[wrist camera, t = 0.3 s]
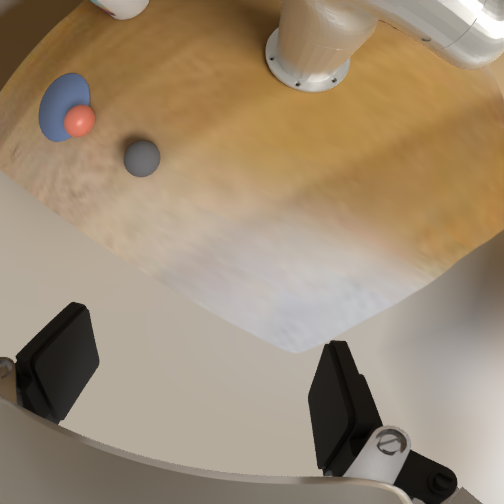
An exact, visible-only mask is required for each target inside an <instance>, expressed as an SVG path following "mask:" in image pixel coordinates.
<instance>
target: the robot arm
mask: <svg viewBox="0 0 504 504" xmlns="http://www.w3.org/2000/svg"><path fill="white" fill-rule="evenodd" d="M379 20H382V21H384V22H386V23H388V24H390V25H391V26H393V27H395V28H396V29H398V30H400V31H401V32H403V33H405V34H406V35H408V36H410V37H411V38H413V39H414V40H416V41H417V42H419V43H420V44H422V45H423V46H425V47H426V48H428V49H429V50H431V51H432V52H434V53H435V54H437V55H438V56H439V57H441V58H442V59H444V60H445V61H447V62H448V63H450V64H452V65H454V66H456V67H459V68H462V69H467V70H475V69H479V68H483V67H485V66H487V65H489V64H490V63H492V62H493V61H495V60H496V59H497V58H498V57H499V56H500V55H501V54H502V53H503V52H504V0H282V6H281V15H280V23H279V27H278V28H277V29H275V30H274V32H273V33H272V34H271V35H270V37H269V39H268V41H267V44H266V51H265V53H266V61H267V64H268V66H269V68H270V70H271V72H272V73H273V74H274V76H275V77H276V78H277V79H278V80H279V81H281V82H282V83H283V84H285V85H286V86H288V87H290V88H292V89H295V90H297V91H302V92H308V93H317V92H323V91H327V90H329V89H331V88H333V87H335V86H336V85H338V84H339V83H340V82H341V81H342V80H343V79H344V78H345V76H346V74H347V73H348V70H349V67H350V56H351V55H352V54H353V53H354V52H355V51H356V50H357V49H358V48H359V47H360V46H361V45H362V44H363V43H364V42H365V41H366V40H367V39H368V38H369V37H370V36H371V35H372V34H373V32H374V31H375V29H376V27H377V24H378V21H379ZM271 58H272V59H273V60H270V59H271ZM332 80H334V83H333V82H332ZM295 84H298V85H299V86H296V85H295ZM16 359H17V362H16V363H14V362H13V360H12V359H10V358H7V357H0V504H482V503H481V502H480V501H479V500H477V499H476V498H475V497H474V496H473V495H471V494H470V493H469V492H468V491H467V490H465V489H464V488H463V487H462V488H460V489H459V488H458V487H457V478H456V475H455V474H454V473H453V471H452V470H450V469H449V468H447V467H445V466H443V465H441V464H439V463H436V462H434V461H432V460H430V459H428V458H426V457H424V456H422V455H420V454H418V453H416V452H414V451H412V450H410V448H411V441H410V438H409V436H408V434H406V432H405V431H403V430H402V429H400V428H398V427H395V426H388V425H387V426H383V424H382V421H381V419H380V416H379V413H378V410H377V408H376V405H375V402H374V400H373V397H372V395H371V392H370V389H369V387H368V384H367V382H366V379H365V377H364V375H362V374H359V372H358V370H357V367H356V365H355V362H354V359H353V357H352V355H351V352H350V349H349V347H348V344H347V342H346V341H335V340H332V341H330V343H329V344H325V346H324V349H323V352H322V355H321V358H320V361H319V364H318V367H317V370H316V373H315V376H314V379H313V382H312V385H311V388H310V391H309V394H308V403H309V408H310V415H311V422H312V430H313V437H314V443H315V451H316V458H317V466H318V469H322V470H323V476H333V477H283V476H261V475H260V476H259V475H247V474H236V473H227V472H219V471H212V470H205V469H199V468H193V467H188V466H183V465H178V464H173V463H169V462H164V461H160V460H156V459H152V458H148V457H144V456H141V455H137V454H134V453H130V452H127V451H124V450H121V449H117V448H114V447H112V446H109V445H106V444H103V443H100V442H98V441H95V440H92V439H90V438H87V437H85V436H82V435H80V434H77V433H75V432H72V431H70V430H68V429H66V428H63V427H61V426H59V425H58V424H59V422H60V420H64V419H65V417H66V416H67V414H68V412H69V411H70V409H71V407H72V406H73V404H74V403H75V401H76V399H77V398H78V397H79V395H80V393H81V392H82V390H83V388H84V387H85V386H86V384H87V383H88V381H89V379H90V378H91V377H92V375H93V374H94V372H95V370H96V369H97V368H98V366H99V356H98V352H97V348H96V343H95V339H94V334H93V329H92V324H91V319H90V313H89V310H88V309H87V308H86V306H85V305H83V304H80V303H76V302H71V303H70V304H69V305H68V306H67V307H66V308H64V309H63V310H62V311H61V312H60V313H59V314H58V315H57V316H56V317H55V318H54V319H52V320H51V321H50V322H49V323H48V324H47V325H46V326H45V327H44V328H43V329H42V330H41V331H40V332H39V333H38V334H37V335H36V336H35V337H34V338H33V339H32V340H31V341H30V342H29V343H28V344H27V345H26V346H25V347H24V348H23V349H22V350H21V351H20V352H19V353H18V354H17V355H16Z"/></svg>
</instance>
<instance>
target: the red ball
mask: <svg viewBox="0 0 504 504" xmlns="http://www.w3.org/2000/svg"><path fill="white" fill-rule="evenodd" d="M94 123H95V114H94V112H93V110H92V109H91V108H90V107H89V106H87V105H76V106H74V107H72V108H71V109H70V110H69V111H68V112H67V114H66V116H65V118H64V128H65V130H66V132H67V133H68V134H69V135H70V136H73V137H82V136H84V135H86V134H87V133H89V132H90V131H91V129H92V128H93V126H94Z"/></svg>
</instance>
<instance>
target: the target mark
mask: <svg viewBox="0 0 504 504" xmlns="http://www.w3.org/2000/svg"><path fill="white" fill-rule="evenodd" d="M89 104H90V90H89V86H88V84H87V82H86V80H85V79H84V78H83V77H82V76H80V75H78V74H74V73H69V74H65V75H62V76H61V77H59V78H58V79H56V80H55V81H54V82H53V83H52V84H51V85H50V86H49V88H48V89H47V91H46V92H45V94H44V96H43V98H42V101H41V104H40V109H39V124H40V128H41V130H42V132H43V134H44V135H45V136H46V137H47V138H48V139H49V140H51V141H56V142H58V141H64V140H66V139H68V138H70V137H71V136H70V135H69V134H68V133H67V132H66V130H65V128H64V118H65V116H66V114H67V112H68V111H69V110H70V109H71V108H72V107H74V106H76V105H87V106H89Z"/></svg>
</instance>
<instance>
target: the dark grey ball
mask: <svg viewBox="0 0 504 504" xmlns="http://www.w3.org/2000/svg"><path fill="white" fill-rule="evenodd" d="M159 163H160V153H159V150H158V148H157V147H156V146H155V145H154V144H153V143H152V142H149V141H145V140H141V141H137V142H135V143H133V144H131V145H130V146H129V147H128V149H127V150H126V152H125V155H124V165H125V167H126V169H127V171H128V172H129V173H130V174H132V175H133V176H136V177H146V176H148V175H150V174H152V173H153V172H154V171H155V170H156V169H157V167H158V165H159Z"/></svg>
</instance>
